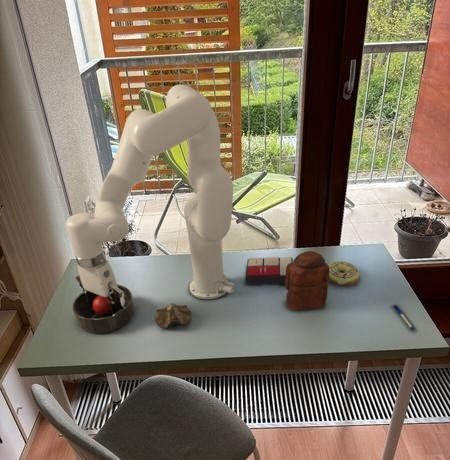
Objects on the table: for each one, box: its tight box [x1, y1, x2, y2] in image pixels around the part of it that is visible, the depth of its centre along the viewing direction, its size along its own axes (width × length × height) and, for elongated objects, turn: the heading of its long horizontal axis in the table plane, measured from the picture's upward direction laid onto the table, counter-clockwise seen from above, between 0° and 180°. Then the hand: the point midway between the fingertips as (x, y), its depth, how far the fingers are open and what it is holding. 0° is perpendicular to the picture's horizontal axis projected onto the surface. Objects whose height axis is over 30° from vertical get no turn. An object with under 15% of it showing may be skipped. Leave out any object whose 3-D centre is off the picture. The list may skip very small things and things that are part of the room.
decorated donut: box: [327, 260, 361, 287], centre depth 138 cm, size 10×11×4 cm
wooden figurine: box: [284, 250, 330, 312], centre depth 124 cm, size 12×6×18 cm, turn 97°
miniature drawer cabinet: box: [245, 256, 294, 286], centre depth 141 cm, size 11×4×15 cm
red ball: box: [93, 296, 111, 315], centre depth 128 cm, size 6×6×6 cm
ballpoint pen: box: [393, 304, 414, 330], centre depth 122 cm, size 10×1×1 cm, turn 10°
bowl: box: [72, 283, 136, 334], centre depth 128 cm, size 17×17×6 cm
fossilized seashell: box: [154, 303, 193, 329], centre depth 124 cm, size 8×7×10 cm
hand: (104, 306), depth 128 cm, fingers open, 9 cm apart
